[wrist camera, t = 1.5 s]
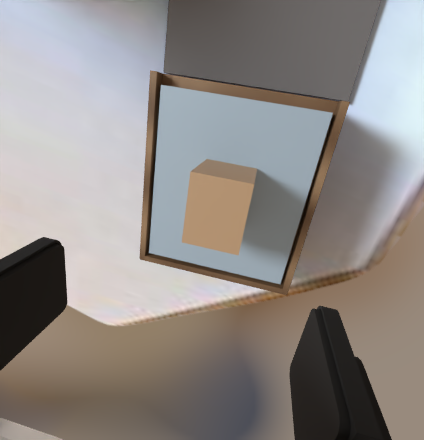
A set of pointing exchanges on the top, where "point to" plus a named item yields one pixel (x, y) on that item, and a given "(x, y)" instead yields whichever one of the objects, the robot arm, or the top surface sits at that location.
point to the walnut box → (254, 94)
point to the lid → (232, 180)
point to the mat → (271, 43)
